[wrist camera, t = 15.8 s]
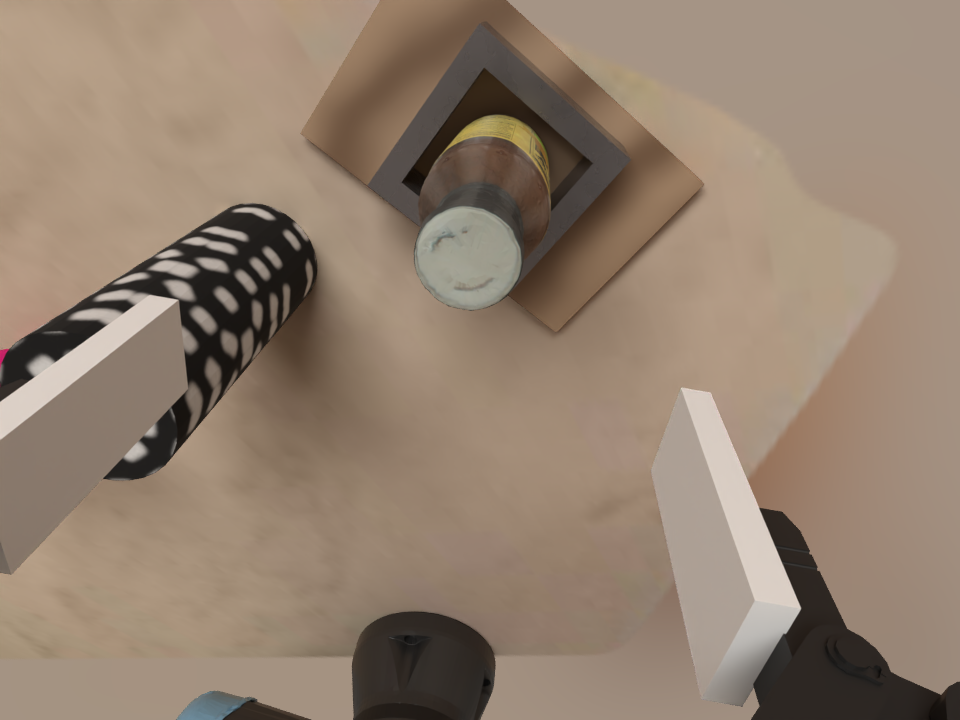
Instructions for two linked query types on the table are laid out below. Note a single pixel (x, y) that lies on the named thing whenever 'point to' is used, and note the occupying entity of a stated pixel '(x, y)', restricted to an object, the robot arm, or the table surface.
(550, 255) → the caddy board
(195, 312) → the spotted tube
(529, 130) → the sauce bottle
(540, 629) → the table surface
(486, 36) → the bottle socket
